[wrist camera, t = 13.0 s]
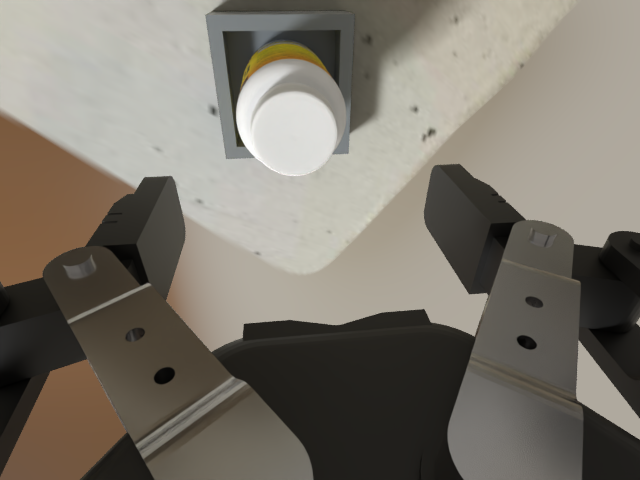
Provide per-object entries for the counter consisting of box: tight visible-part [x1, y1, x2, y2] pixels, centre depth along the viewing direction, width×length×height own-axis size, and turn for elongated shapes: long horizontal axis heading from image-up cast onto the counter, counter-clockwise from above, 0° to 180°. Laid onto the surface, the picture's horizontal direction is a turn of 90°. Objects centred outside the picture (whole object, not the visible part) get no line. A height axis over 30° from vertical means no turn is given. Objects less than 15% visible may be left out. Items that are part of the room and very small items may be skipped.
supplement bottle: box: [236, 40, 346, 176], centre depth 21 cm, size 6×6×10 cm
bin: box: [205, 11, 355, 159], centre depth 25 cm, size 8×8×3 cm
